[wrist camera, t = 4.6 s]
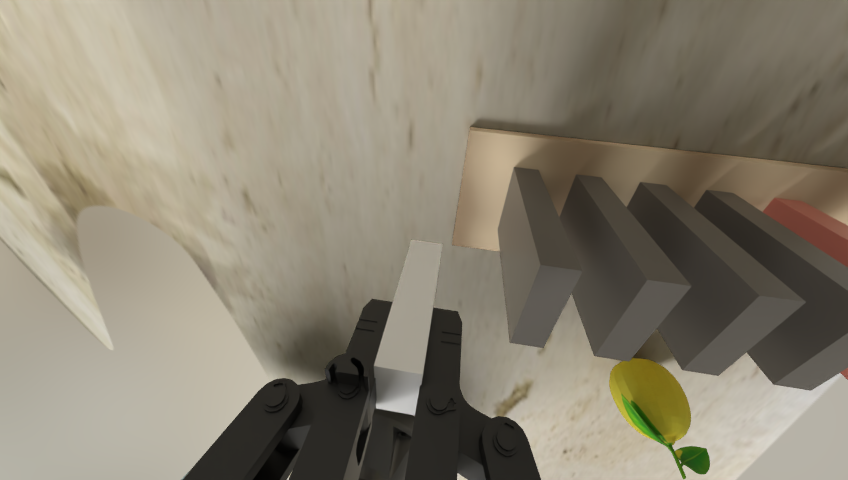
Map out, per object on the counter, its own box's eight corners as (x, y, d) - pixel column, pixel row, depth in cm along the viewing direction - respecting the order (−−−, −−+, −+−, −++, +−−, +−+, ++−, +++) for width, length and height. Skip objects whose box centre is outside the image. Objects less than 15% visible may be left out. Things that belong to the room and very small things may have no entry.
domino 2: (551, 236, 22) (594, 356, 14) (576, 174, 19) (647, 280, 11) (573, 239, 22) (629, 361, 14) (601, 177, 19) (692, 286, 11)
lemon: (665, 374, 31) (732, 497, 23) (602, 379, 33) (643, 494, 25) (666, 333, 28) (746, 460, 20) (596, 341, 29) (641, 460, 21)
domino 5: (721, 259, 22) (868, 399, 14) (774, 197, 19) (1002, 329, 11) (745, 262, 21) (908, 405, 13) (802, 201, 19) (1053, 336, 10)
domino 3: (606, 244, 22) (682, 370, 14) (640, 181, 19) (759, 295, 11) (629, 247, 22) (718, 375, 14) (666, 185, 19) (806, 301, 11)
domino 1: (497, 229, 23) (509, 342, 15) (513, 166, 20) (540, 264, 12) (518, 232, 23) (543, 347, 15) (538, 169, 20) (582, 270, 12)
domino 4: (663, 251, 22) (773, 384, 14) (706, 189, 19) (877, 312, 11) (686, 254, 22) (811, 390, 14) (733, 192, 19) (926, 318, 11)
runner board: (452, 239, 25) (451, 244, 24) (470, 126, 19) (470, 130, 19) (791, 285, 23) (801, 293, 22) (913, 175, 18) (930, 181, 17)
